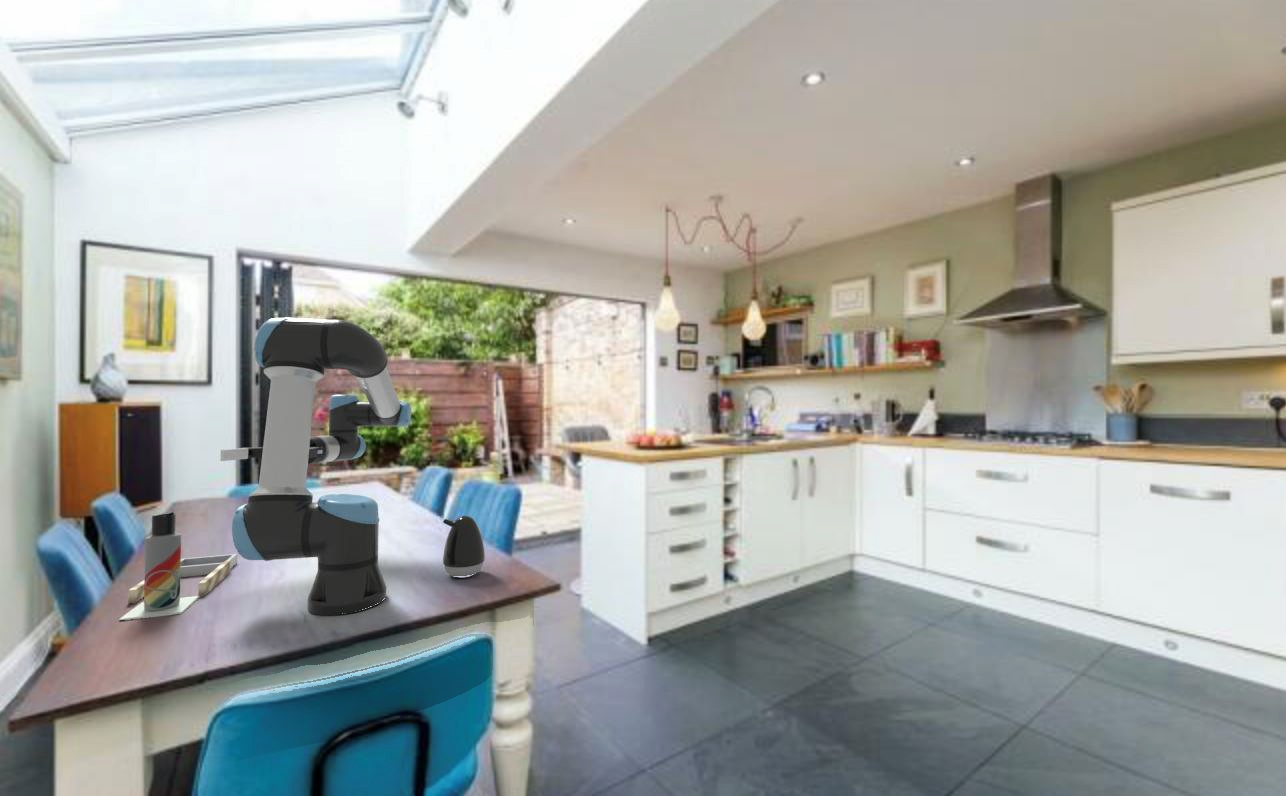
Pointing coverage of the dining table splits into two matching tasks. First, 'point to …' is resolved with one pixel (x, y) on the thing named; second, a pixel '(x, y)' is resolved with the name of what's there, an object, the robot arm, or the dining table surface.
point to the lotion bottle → (162, 564)
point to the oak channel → (204, 585)
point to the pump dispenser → (463, 547)
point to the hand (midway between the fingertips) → (244, 455)
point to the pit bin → (204, 564)
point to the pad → (142, 613)
